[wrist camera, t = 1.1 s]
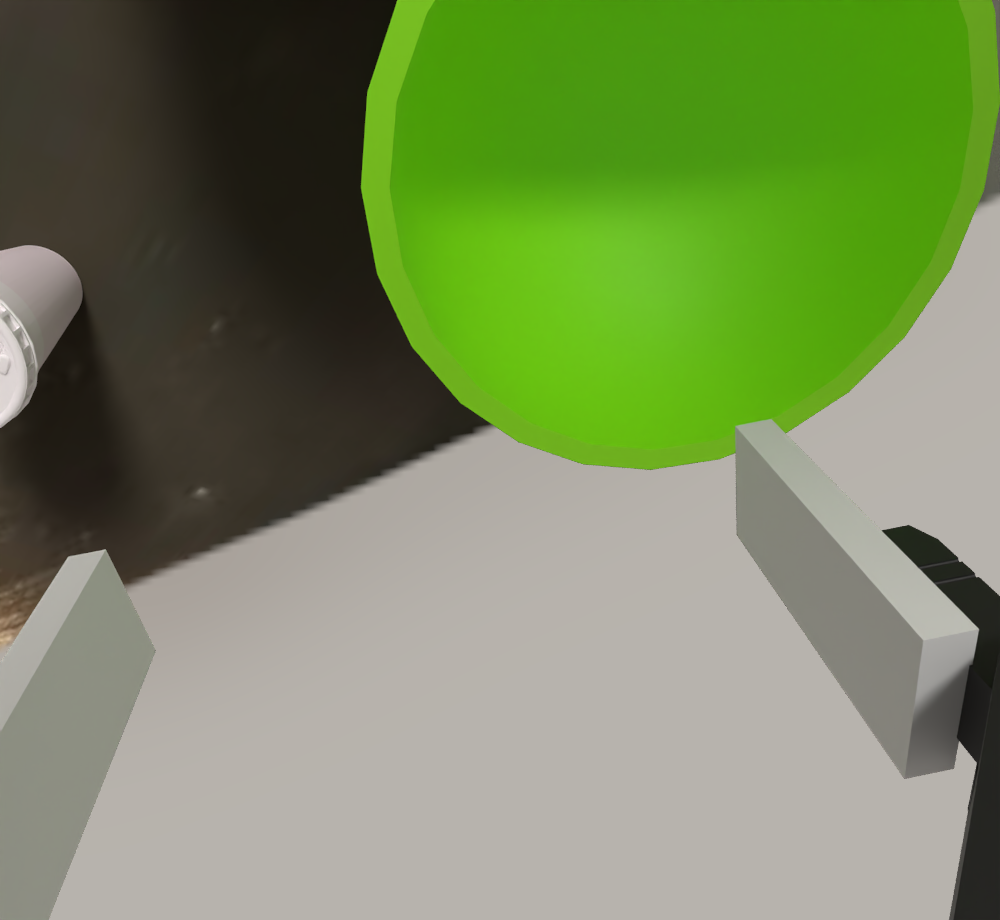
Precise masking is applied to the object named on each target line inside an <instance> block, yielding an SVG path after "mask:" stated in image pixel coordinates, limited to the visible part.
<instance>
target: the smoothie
mask: <svg viewBox="0 0 1000 920" xmlns="http://www.w3.org/2000/svg"><path fill="white" fill-rule="evenodd" d="M82 297H83V291H82V285H81V281H80V279H79V277H78V275H77V273H76V271H75V270H74V268H73V267H72V266H71V265H70V264H69V262H67V261H66V260H65V259H64V258H63V257H62V256H60V255H59V254H57V253H55V252H54V251H51V250H49V249H47V248H43V247H39V246H33V245H26V246H19V247H15V248H11V249H7V250H3V251H0V428H1V427H2V426H4V425H5V424H6V423H8V422H9V421H10V420H11V419H13V418H14V417H16V416H17V415H18V414H19V413H20V412H21V411H22V410H23V408H24V407H25V406H26V405H27V404H28V403H29V401H30V399H31V397H32V395H33V392H34V390H35V388H36V385H37V374H38V371H39V370H40V368H41V366H42V365H43V363H44V362H45V360H46V359H47V357H48V356H49V354H50V353H51V351H52V349H53V348H54V346H55V345H56V343H57V342H58V340H59V339H60V337H61V336H62V334H63V332H64V331H65V329H66V328H67V326H68V325H69V323H70V322H71V320H72V319H73V317H74V315H75V314H76V312H77V311H78V309H79V307H80V305H81V302H82Z"/></svg>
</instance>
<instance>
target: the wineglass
mask: <svg viewBox="0 0 1000 920" xmlns="http://www.w3.org/2000/svg"><path fill="white" fill-rule="evenodd" d="M999 105H1000V92H999V74H998V56H997V38H996V19H995V9H994V6H993V3H992V0H397V3H396V6H395V9H394V12H393V15H392V18H391V21H390V24H389V27H388V31H387V34H386V37H385V40H384V43H383V46H382V49H381V52H380V55H379V58H378V61H377V64H376V67H375V70H374V73H373V76H372V79H371V82H370V85H369V89H368V92H367V104H366V119H365V134H364V149H363V164H362V179H361V191H362V196H363V202H364V207H365V212H366V218H367V223H368V228H369V233H370V239H371V244H372V249H373V255H374V260H375V265H376V271H377V275H378V277H379V279H380V281H381V283H382V285H383V287H384V290H385V292H386V294H387V296H388V298H389V300H390V302H391V304H392V306H393V308H394V311H395V313H396V315H397V317H398V319H399V321H400V323H401V325H402V327H403V329H404V331H405V334H406V336H407V338H408V340H409V342H410V344H411V346H412V347H413V349H414V350H415V351H416V352H417V353H418V354H419V356H420V357H421V358H422V359H423V360H424V361H425V363H426V364H427V365H428V366H429V367H430V368H431V370H432V371H433V372H434V373H435V374H436V375H437V377H438V378H439V379H440V380H441V381H442V382H443V383H444V385H445V386H446V387H447V388H448V389H449V390H450V392H451V393H452V394H453V395H454V396H455V397H456V399H457V400H458V401H459V402H460V403H461V404H463V405H464V406H466V407H467V408H469V409H470V410H472V411H473V412H474V413H476V414H477V415H479V416H480V417H482V418H483V419H485V420H486V421H488V422H489V423H491V424H492V425H494V426H495V427H497V428H498V429H500V430H501V431H503V432H504V433H506V434H507V435H509V436H510V437H512V438H513V439H515V440H516V441H518V442H520V443H523V444H525V445H529V446H531V447H534V448H537V449H540V450H543V451H546V452H549V453H552V454H555V455H558V456H561V457H563V458H566V459H569V460H572V461H575V462H578V463H581V464H586V465H600V466H610V467H622V468H635V469H647V470H653V469H659V468H666V467H672V466H678V465H684V464H691V463H698V462H704V461H711V460H718V459H721V458H724V457H726V456H729V455H731V454H734V453H736V447H735V426H738V425H743V424H748V423H753V422H758V421H763V420H768V419H772V420H773V421H774V422H775V423H776V424H777V425H778V426H779V427H780V428H781V429H782V430H783V431H784V432H785V433H787V432H788V431H790V430H792V429H793V428H794V427H796V426H798V425H799V424H801V423H802V422H804V421H805V420H807V419H808V418H810V417H811V416H813V415H815V414H816V413H818V412H819V411H821V410H822V409H824V408H825V407H827V406H828V405H830V404H831V403H833V402H834V401H836V400H837V399H839V398H840V397H842V396H844V395H845V394H847V393H848V392H849V391H850V390H851V389H852V388H853V387H854V386H855V385H857V384H858V383H859V381H861V380H862V379H863V378H864V377H865V376H866V375H867V374H868V373H869V372H870V371H871V370H872V369H873V368H874V367H875V366H876V365H877V364H878V363H879V362H880V361H881V360H882V359H883V358H884V357H885V356H886V355H887V354H888V353H889V352H890V351H891V350H892V349H893V348H894V347H895V346H896V345H897V344H898V343H899V342H900V341H901V340H902V339H903V338H904V337H905V336H906V334H907V333H908V331H909V330H910V328H911V327H912V326H913V324H914V323H915V321H916V320H917V318H918V317H919V315H920V314H921V312H922V311H923V309H924V308H925V306H926V305H927V303H928V302H929V301H930V299H931V298H932V296H933V295H934V293H935V292H936V290H937V289H938V287H939V286H940V284H941V283H942V281H943V280H944V278H945V277H946V275H947V274H948V273H949V271H950V270H951V268H952V265H953V263H954V260H955V258H956V255H957V253H958V251H959V248H960V246H961V243H962V241H963V239H964V236H965V234H966V232H967V229H968V227H969V224H970V222H971V220H972V217H973V215H974V212H975V210H976V208H977V205H978V203H979V200H980V198H981V196H982V193H983V191H984V187H985V182H986V176H987V171H988V165H989V160H990V154H991V149H992V143H993V138H994V132H995V127H996V121H997V116H998V110H999Z"/></svg>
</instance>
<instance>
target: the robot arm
mask: <svg viewBox="0 0 1000 920" xmlns="http://www.w3.org/2000/svg"><path fill="white" fill-rule="evenodd" d="M735 447H736V515H737V536H738V537H739V539H740V540H741V542H742V543H743V545H744V546H745V547H746V549H747V550H748V552H749V553H750V555H751V556H752V558H753V559H754V561H755V562H756V563H757V565H758V566H759V568H760V569H761V571H762V572H763V574H764V575H765V577H766V578H767V580H768V581H769V582H770V584H771V585H772V587H773V588H774V590H775V591H776V592H777V594H778V596H779V597H780V598H781V600H782V601H783V603H784V604H785V606H786V607H787V609H788V610H789V612H790V613H791V614H792V616H793V617H794V619H795V620H796V622H797V623H798V625H799V626H800V628H801V629H802V630H803V632H804V633H805V635H806V636H807V638H808V639H809V641H810V642H811V644H812V645H813V647H814V648H815V649H816V651H817V652H818V654H819V655H820V657H821V658H822V660H823V661H824V662H825V664H826V665H827V667H828V668H829V670H830V671H831V673H832V674H833V675H834V677H835V678H836V680H837V681H838V683H839V684H840V686H841V687H842V689H843V690H844V691H845V693H846V695H847V696H848V697H849V699H850V700H851V701H852V703H853V705H854V706H855V707H856V709H857V711H858V712H859V713H860V715H861V716H862V718H863V719H864V721H865V722H866V724H867V725H868V727H869V728H870V729H871V731H872V732H873V734H874V735H875V737H876V738H877V740H878V741H879V743H880V744H881V746H882V747H883V748H884V750H885V751H886V753H887V754H888V756H889V757H890V759H891V760H892V762H893V763H894V764H895V766H896V767H897V769H898V770H899V772H900V773H901V775H902V776H903V778H904V779H906V778H911V777H916V776H921V775H926V774H930V773H935V772H940V771H944V770H950V769H954V765H955V760H956V754H957V748H958V743H959V741H960V742H961V744H962V745H963V746H964V747H965V749H966V750H967V751H968V752H969V753H970V755H971V756H972V757H973V758H974V760H975V761H976V762H977V766H976V771H975V775H974V780H973V785H972V790H971V796H970V801H969V805H968V815H967V821H966V827H965V832H964V839H963V844H962V850H961V855H960V861H959V867H958V872H957V878H956V884H955V889H954V895H953V901H952V906H951V912H950V918H949V920H1000V596H999V595H998V594H997V593H996V592H995V591H994V590H992V589H991V588H990V587H989V586H988V585H987V584H986V583H985V582H984V581H983V580H982V579H981V578H979V577H977V578H976V576H975V573H974V572H973V571H972V570H971V569H970V568H969V567H968V566H966V565H965V564H964V563H963V562H959V561H958V557H957V556H956V555H954V554H953V553H952V552H951V551H950V550H949V549H948V548H947V547H946V546H945V545H943V543H941V542H940V541H939V540H938V539H936V538H934V537H932V536H930V535H928V534H926V533H924V532H922V531H920V530H918V529H916V528H914V527H912V526H909V525H907V526H902V527H897V528H892V529H887V530H882V531H881V530H880V529H879V528H878V526H877V525H876V524H874V522H872V520H870V518H869V517H868V516H867V515H866V514H865V513H864V512H863V511H862V510H861V509H860V508H859V507H857V506H856V504H855V503H854V502H853V501H852V500H851V499H850V498H849V497H848V496H847V495H846V494H845V493H844V492H843V491H842V490H841V489H840V488H839V487H838V486H837V485H836V484H835V483H834V482H833V481H832V480H831V479H830V478H829V477H828V476H827V475H826V474H825V473H824V472H823V471H822V470H821V469H820V468H819V467H818V466H817V465H816V464H815V463H814V462H813V461H812V460H811V459H810V458H809V457H808V456H807V455H806V454H805V453H804V452H803V451H802V450H801V449H800V448H799V447H798V446H797V445H796V444H795V443H794V442H793V441H792V440H791V439H790V438H789V437H788V436H787V435H786V433H785V432H784V431H783V430H782V429H781V428H780V427H779V426H778V425H777V424H776V423H775V422H774V421H773V420H772V419H768V420H763V421H758V422H753V423H748V424H743V425H738V426H735ZM155 651H156V650H155V648H154V647H153V644H152V642H151V640H150V638H149V636H148V634H147V632H146V630H145V628H144V626H143V624H142V622H141V620H140V618H139V616H138V614H137V612H136V610H135V608H134V606H133V604H132V602H131V600H130V598H129V596H128V594H127V591H126V589H125V587H124V585H123V583H122V581H121V579H120V577H119V575H118V573H117V571H116V569H115V567H114V565H113V563H112V561H111V559H110V557H109V555H108V553H107V551H106V550H101V551H95V552H90V553H85V554H80V555H75V556H70V557H68V558H67V560H66V561H65V563H64V564H63V566H62V567H61V569H60V571H59V572H58V574H57V575H56V577H55V578H54V580H53V581H52V583H51V585H50V586H49V588H48V589H47V591H46V592H45V594H44V595H43V597H42V599H41V600H40V602H39V603H38V605H37V606H36V608H35V609H34V611H33V613H32V614H31V616H30V617H29V619H28V620H27V622H26V623H25V625H24V627H23V628H22V630H21V631H20V633H19V634H18V636H17V638H16V639H15V641H14V642H13V644H12V645H11V647H10V648H9V650H8V652H7V653H6V655H5V656H4V658H3V659H2V661H1V662H0V920H49V917H50V915H51V912H52V909H53V907H54V905H55V902H56V900H57V897H58V895H59V892H60V890H61V887H62V884H63V882H64V879H65V877H66V874H67V872H68V869H69V867H70V864H71V862H72V859H73V857H74V854H75V852H76V849H77V847H78V844H79V842H80V839H81V837H82V834H83V832H84V829H85V827H86V824H87V822H88V819H89V817H90V814H91V812H92V809H93V807H94V804H95V802H96V799H97V797H98V794H99V792H100V789H101V787H102V784H103V782H104V779H105V777H106V774H107V772H108V769H109V767H110V764H111V761H112V759H113V757H114V754H115V751H116V749H117V746H118V744H119V742H120V739H121V737H122V734H123V732H124V729H125V727H126V724H127V722H128V719H129V716H130V714H131V712H132V709H133V707H134V704H135V702H136V699H137V697H138V694H139V691H140V689H141V686H142V684H143V681H144V679H145V676H146V674H147V671H148V669H149V666H150V664H151V661H152V659H153V656H154V654H155Z"/></svg>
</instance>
